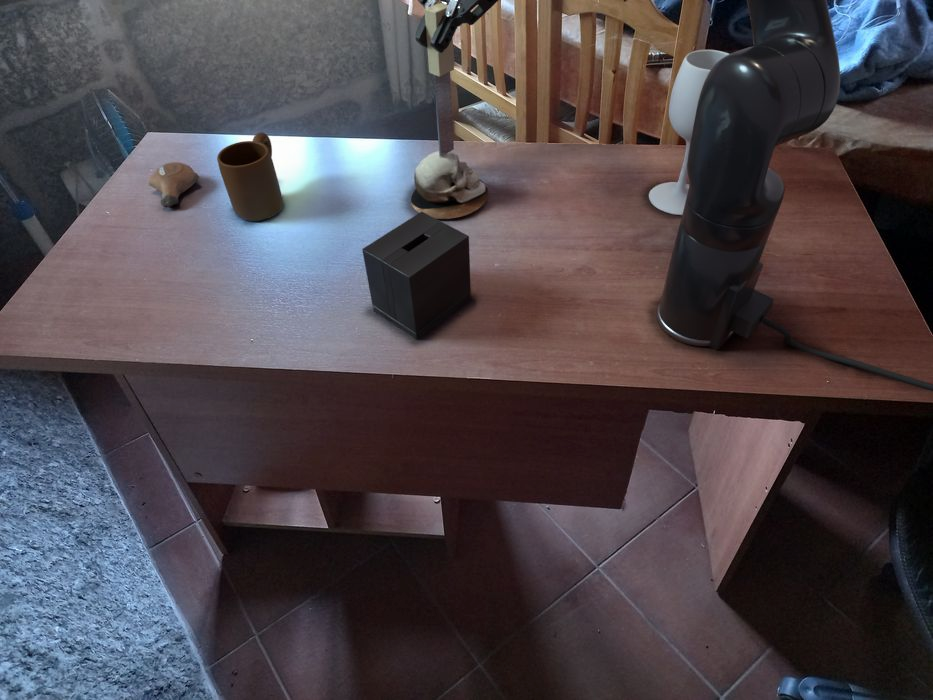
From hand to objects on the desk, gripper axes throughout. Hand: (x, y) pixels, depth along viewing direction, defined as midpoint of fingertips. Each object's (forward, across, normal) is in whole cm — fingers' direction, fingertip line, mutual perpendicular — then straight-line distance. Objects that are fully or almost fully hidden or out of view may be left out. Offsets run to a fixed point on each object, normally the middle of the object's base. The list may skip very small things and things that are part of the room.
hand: (428, 46), depth 83 cm
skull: (+15, 0, +18) cm, 24 cm away
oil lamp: (+35, -35, 0) cm, 49 cm away
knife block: (+29, +14, +4) cm, 33 cm away
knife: (+10, 0, +13) cm, 16 cm away
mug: (+29, -22, +5) cm, 37 cm away
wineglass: (0, +27, +34) cm, 43 cm away
